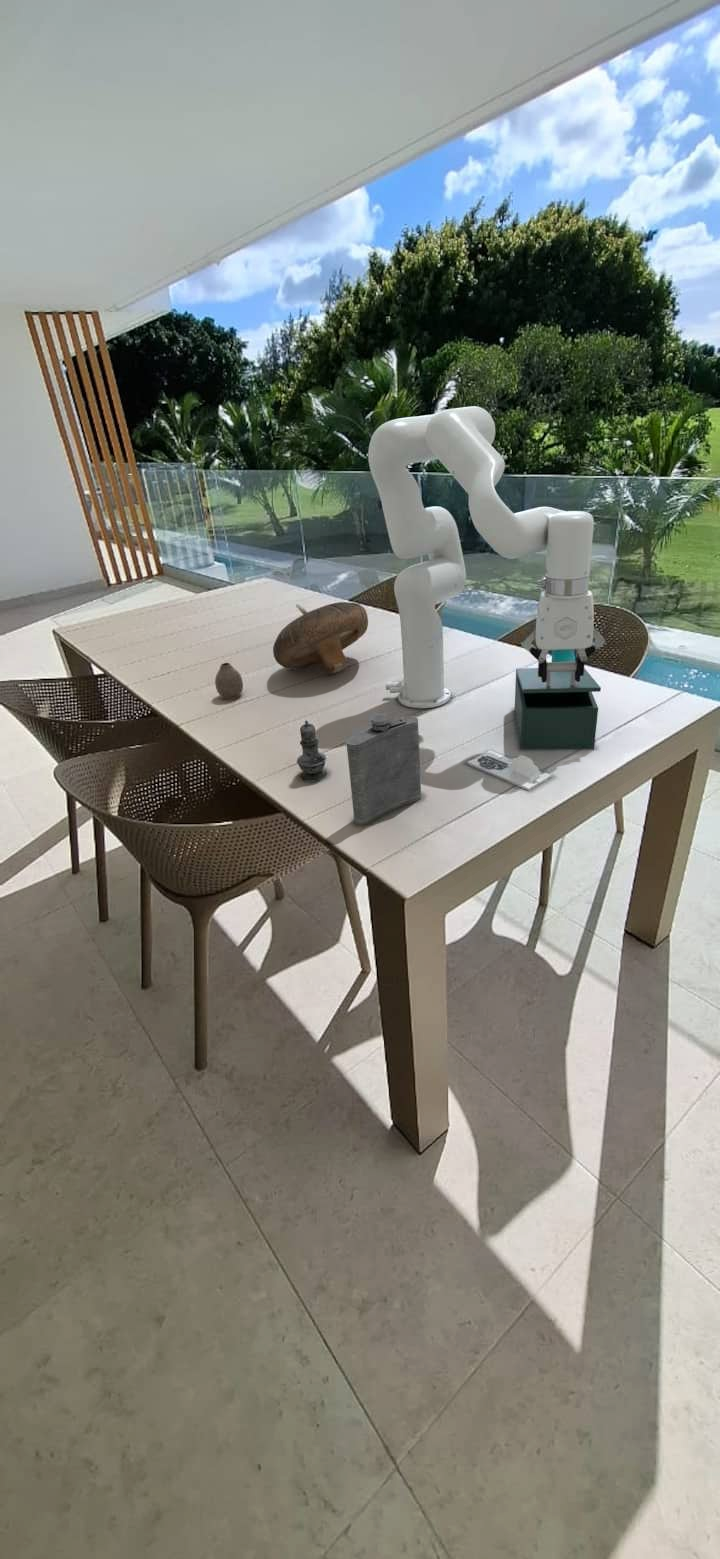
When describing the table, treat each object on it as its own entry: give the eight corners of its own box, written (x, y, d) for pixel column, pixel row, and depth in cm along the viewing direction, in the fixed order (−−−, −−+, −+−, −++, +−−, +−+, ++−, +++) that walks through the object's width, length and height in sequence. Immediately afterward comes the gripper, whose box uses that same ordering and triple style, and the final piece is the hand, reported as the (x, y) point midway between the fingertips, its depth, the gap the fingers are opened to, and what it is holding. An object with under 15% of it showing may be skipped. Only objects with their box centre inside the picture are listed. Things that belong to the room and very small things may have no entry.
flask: (348, 818, 119) (338, 726, 110) (411, 790, 125) (407, 701, 116) (360, 827, 116) (351, 733, 107) (424, 797, 123) (420, 707, 114)
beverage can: (575, 688, 159) (580, 627, 152) (550, 688, 161) (554, 627, 153) (573, 679, 164) (578, 619, 157) (549, 679, 165) (553, 620, 158)
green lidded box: (594, 748, 133) (598, 707, 129) (520, 749, 135) (522, 709, 131) (579, 707, 150) (583, 670, 146) (514, 709, 152) (515, 672, 148)
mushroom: (324, 648, 202) (353, 574, 188) (365, 694, 190) (399, 618, 176) (243, 648, 185) (267, 566, 170) (282, 699, 173) (312, 615, 158)
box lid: (600, 691, 126) (602, 663, 125) (523, 693, 129) (523, 665, 127) (583, 670, 145) (584, 645, 144) (515, 672, 148) (516, 647, 146)
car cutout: (551, 777, 125) (552, 756, 123) (528, 790, 122) (529, 769, 119) (489, 752, 135) (490, 732, 133) (467, 764, 132) (467, 743, 130)
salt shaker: (298, 769, 136) (291, 715, 130) (327, 766, 136) (321, 712, 130) (298, 783, 131) (290, 728, 125) (328, 780, 131) (322, 725, 125)
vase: (250, 692, 174) (244, 660, 170) (235, 703, 169) (228, 670, 165) (228, 690, 177) (222, 658, 173) (212, 700, 172) (206, 668, 167)
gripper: (518, 593, 119) (515, 688, 128) (620, 588, 116) (609, 686, 125) (516, 582, 125) (513, 673, 134) (612, 577, 122) (603, 671, 131)
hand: (560, 678), depth 129 cm, fingers closed on box lid, 5 cm apart
